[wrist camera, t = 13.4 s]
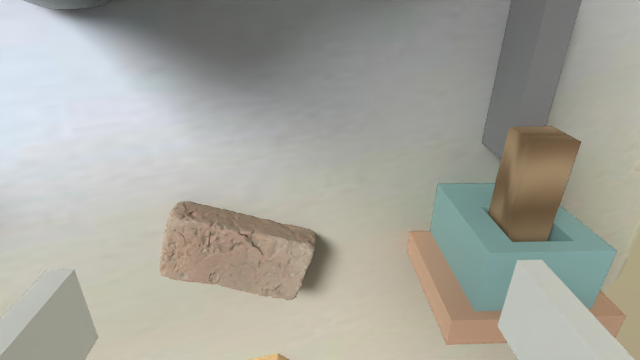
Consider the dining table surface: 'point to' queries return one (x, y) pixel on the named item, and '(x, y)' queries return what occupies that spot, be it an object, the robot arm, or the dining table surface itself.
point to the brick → (235, 251)
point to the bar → (532, 181)
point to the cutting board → (271, 357)
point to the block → (512, 248)
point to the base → (456, 309)
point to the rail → (528, 66)
